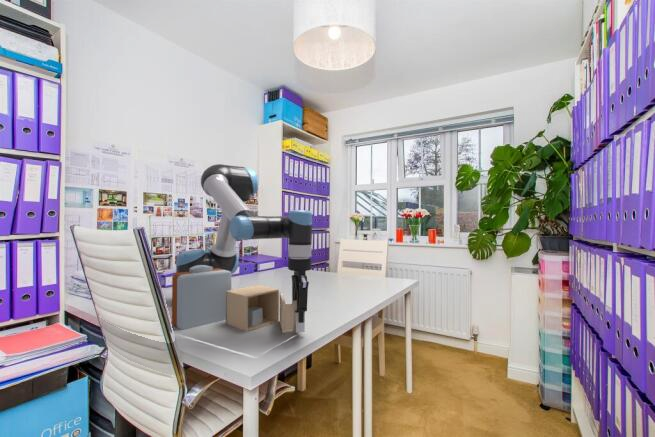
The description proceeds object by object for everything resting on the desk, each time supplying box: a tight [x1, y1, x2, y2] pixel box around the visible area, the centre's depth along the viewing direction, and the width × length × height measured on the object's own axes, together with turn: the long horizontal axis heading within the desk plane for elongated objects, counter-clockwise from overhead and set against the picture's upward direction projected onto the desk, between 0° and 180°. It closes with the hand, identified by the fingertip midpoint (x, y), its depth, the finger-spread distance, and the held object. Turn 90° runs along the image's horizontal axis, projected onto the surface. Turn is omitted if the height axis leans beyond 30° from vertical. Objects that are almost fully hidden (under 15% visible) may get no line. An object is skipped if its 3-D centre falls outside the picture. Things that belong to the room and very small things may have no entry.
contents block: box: [248, 306, 263, 326], centre depth 111 cm, size 5×5×5 cm
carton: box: [225, 284, 280, 332], centre depth 112 cm, size 12×14×12 cm
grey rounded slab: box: [171, 265, 232, 331], centre depth 113 cm, size 18×9×21 cm, turn 134°
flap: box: [279, 291, 302, 334], centre depth 107 cm, size 6×15×10 cm, turn 13°
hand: (298, 330), depth 101 cm, fingers closed on flap, 3 cm apart
